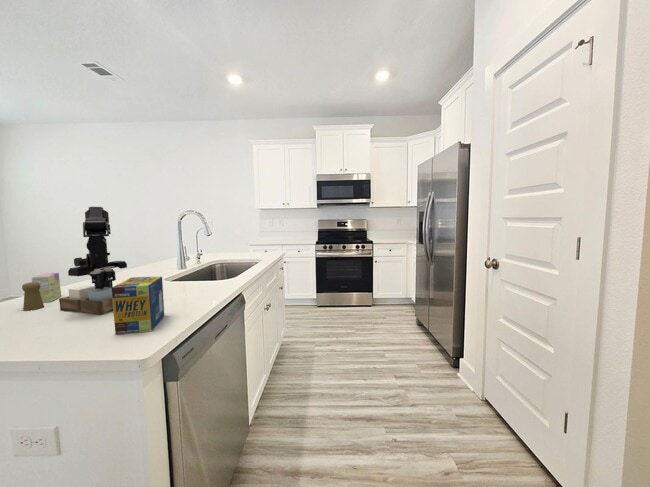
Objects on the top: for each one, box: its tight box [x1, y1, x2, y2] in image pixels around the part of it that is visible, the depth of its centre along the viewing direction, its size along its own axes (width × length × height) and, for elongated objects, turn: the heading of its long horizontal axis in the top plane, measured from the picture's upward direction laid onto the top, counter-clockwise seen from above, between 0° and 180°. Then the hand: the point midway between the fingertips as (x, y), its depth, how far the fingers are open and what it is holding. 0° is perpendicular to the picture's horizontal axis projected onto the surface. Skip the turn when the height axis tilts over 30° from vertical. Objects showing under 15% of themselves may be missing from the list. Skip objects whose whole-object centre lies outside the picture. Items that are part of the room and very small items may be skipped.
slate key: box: [88, 287, 112, 301], centre depth 111 cm, size 6×6×4 cm
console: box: [58, 295, 113, 316], centre depth 113 cm, size 10×22×5 cm, turn 74°
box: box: [31, 272, 62, 304], centre depth 126 cm, size 10×6×12 cm, turn 25°
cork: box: [21, 281, 45, 312], centre depth 114 cm, size 6×6×11 cm
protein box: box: [112, 276, 165, 335], centre depth 95 cm, size 10×15×16 cm
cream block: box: [68, 285, 95, 299], centre depth 114 cm, size 6×6×4 cm
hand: (101, 289), depth 111 cm, fingers closed
